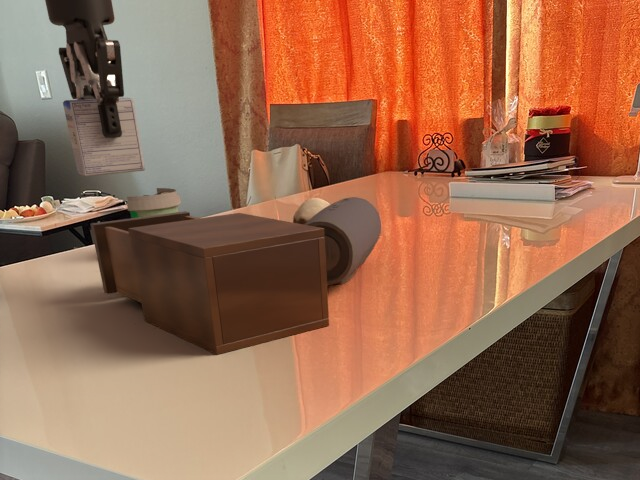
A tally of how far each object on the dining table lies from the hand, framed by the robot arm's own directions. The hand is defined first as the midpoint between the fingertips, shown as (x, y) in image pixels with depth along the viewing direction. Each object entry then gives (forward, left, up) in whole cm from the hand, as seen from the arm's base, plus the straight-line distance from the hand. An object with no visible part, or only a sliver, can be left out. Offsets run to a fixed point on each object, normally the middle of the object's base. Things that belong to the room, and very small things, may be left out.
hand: (104, 136), depth 92 cm
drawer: (+2, -9, -19) cm, 21 cm away
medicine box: (0, 0, -5) cm, 5 cm away
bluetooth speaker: (+26, -15, -20) cm, 36 cm away
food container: (+16, +21, -20) cm, 33 cm away
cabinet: (+2, -25, -20) cm, 32 cm away
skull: (+39, +8, -20) cm, 44 cm away
